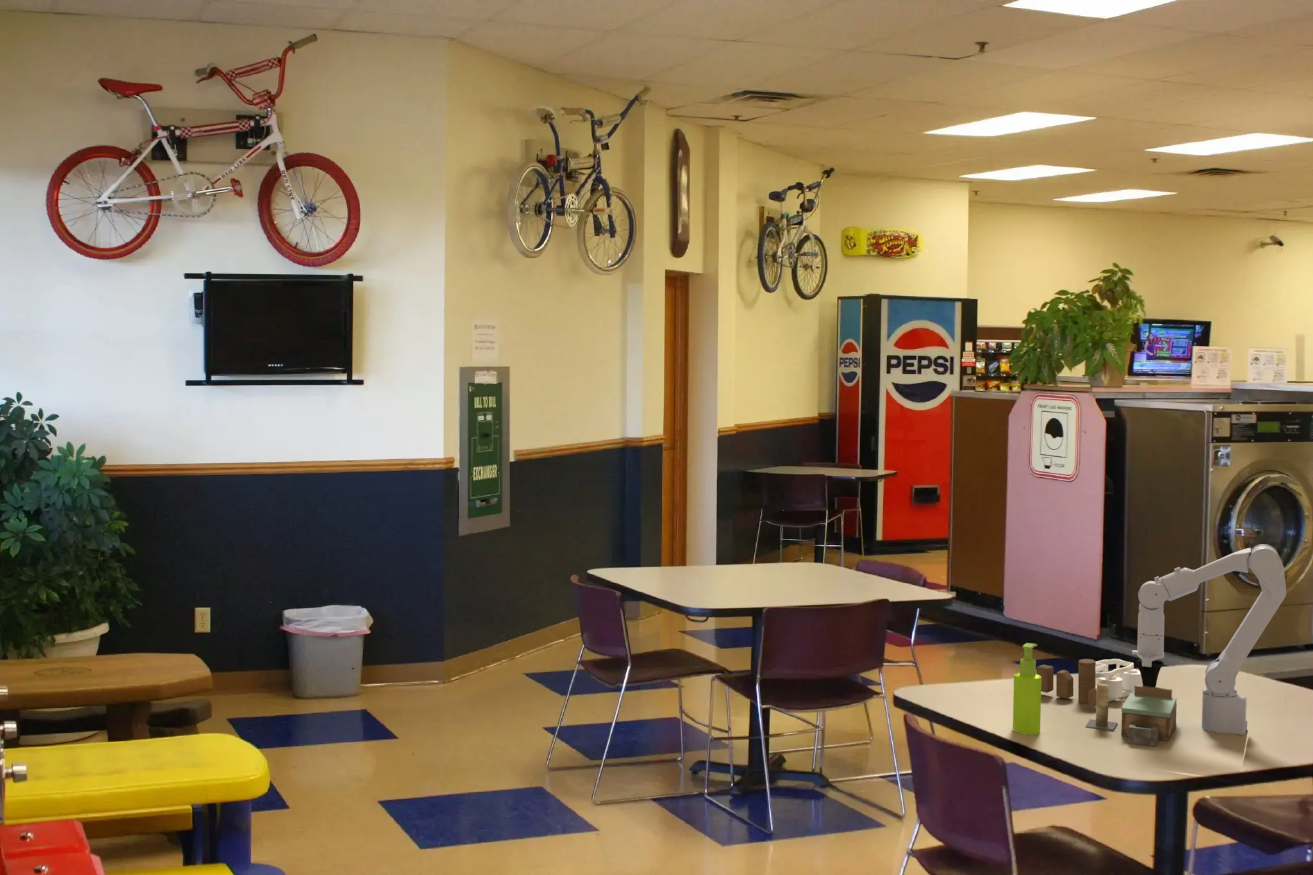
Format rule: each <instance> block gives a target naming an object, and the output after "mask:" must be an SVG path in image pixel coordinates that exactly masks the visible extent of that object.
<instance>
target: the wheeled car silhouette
mask: <svg viewBox="0 0 1313 875" xmlns="http://www.w3.org/2000/svg"><path fill="white" fill-rule="evenodd" d="M1095 662H1096V679H1098V680H1097V681H1096V682H1095V689H1096V690H1097V684H1106V685H1109V698H1108V702H1111V701H1114V700H1115V699H1118V698H1119V699H1121V698H1125V697H1128V696H1129V695H1130V693H1134V689H1135V685H1140V686H1143V683H1142V677H1141V674H1140V671H1139V669H1135V666H1134V665H1135V664H1134V662H1131V661H1126V660H1122V659H1120V658H1111V659H1102V660H1098V661H1095ZM1109 665H1116V668H1114V669H1113V670H1111V671H1109ZM1120 666H1123V667H1120ZM1097 682H1098V683H1097Z"/></svg>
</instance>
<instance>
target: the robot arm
mask: <svg viewBox="0 0 1313 875" xmlns="http://www.w3.org/2000/svg"><path fill="white" fill-rule="evenodd" d="M1283 563H1284V562H1283V561H1282V559H1281V557H1280V555H1279V553H1278V550H1277V549H1275V547H1273V546H1271V545H1270V544H1266V543H1265V544H1261V543H1260V544H1256V545H1255V546H1253V547H1252V548H1251V547H1247V548H1243V549H1241V550H1237V551H1235V552H1232V553H1230V554H1228V555H1226V556H1223V557H1221V558H1219V559H1216V560H1214V561H1211V562H1210V563H1207V564H1205V565H1202V566H1200V567H1199V568H1196V569H1191V568H1188V567H1182V568H1181V567H1180V566H1178V567H1176V568H1173V569H1174V570H1173V572H1171V573H1168V574H1166V575H1163V576H1161V577H1159V575H1158V576H1156V577H1154V578H1153V579H1154V581H1153V580H1148V581H1146V582H1144V583H1142V585H1141V586H1140V589H1139V591H1138V592H1137V596H1138V601H1139V605H1138V611H1139V612H1138V614H1137V647H1136V648H1137V649H1136V650H1135V649H1134V650H1131V655H1134V656H1137V657H1138V658H1139V659H1138V660H1136V663H1135V664H1136V666H1137V668H1138V671H1140V674H1141V677H1142V683H1143V686H1149V687H1157V682H1158V678H1159V675H1160V671H1161V669H1162V667H1163V665H1164V664H1165V662H1164V660H1161V659H1163V658H1165V652H1164V651H1165V642H1164V641H1165V614H1164V604H1165V601H1168V602H1172V601H1174V600H1176V599H1179V598H1181V597H1184V596H1187V595H1189V594H1191V593H1194V592H1196V591H1198V589H1199V586H1200V584H1201V583H1204V582H1207V581H1209V580H1213V579H1215V578H1218V577H1220V576H1224V575H1226V574H1228V573H1232V572H1241V573H1246V574H1247V573H1249V569H1250V570H1251V572H1253V574H1254V575H1255V577H1256V578H1257V579H1258V582H1259V585H1260V588H1261V591H1260V594H1259V595H1258V596H1257V598H1256V600H1255V601H1254V603H1253V604H1252V606H1251V607H1250V609H1249V611H1248V612H1247V614H1246V616H1245V617H1244V618H1243V620H1242V621H1241V623H1240V625H1239V626H1238V628H1237V629H1236V631H1235V633H1234V634H1233V636H1232V637H1231V639H1230V640H1229V642H1228V644H1227V645H1226V646H1225V648H1224V649H1223V650H1222V652H1221V653H1220V654H1219V655H1218V657H1217V658H1216V659H1215V660H1212V661H1211V662H1210V663H1208V665H1207V666H1206V669H1205V677H1204V684H1205V687H1204V688H1202V699H1201V700H1202V701H1201V702H1202V704H1201V705H1202V706H1201V707H1202V708H1201V728H1202V729H1203V730H1205V731H1207V732H1214V733H1219V734H1220V733H1222V734H1232V735H1242V736H1243V735H1245V734H1246V730H1248V721H1247V704H1248V703H1247V696H1246V695H1241V694H1238V690H1236V689H1235V687H1236V679H1237V676H1238V674H1239V672H1240V670H1241V668H1242V666H1243V664H1244V662H1245V661H1246V659H1247V657H1248V655H1249V654H1250V653H1251V651H1252V650H1253V648H1254V646H1255V645H1256V643H1257V642H1258V641H1259V639H1260V637H1261V636H1262V634H1263V633H1264V630H1266V628H1267V626H1268V624H1269V623H1270V622H1271V621H1272V618H1273V617H1274V616H1275V614H1276V612H1277V611H1278V609H1279V608H1280V606H1281V604H1282V603H1283V601H1284V600H1285V598H1286V596H1287V584H1286V579H1285V578H1286V577H1285V576H1286V574H1285V566H1284V564H1283Z"/></svg>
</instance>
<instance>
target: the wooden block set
mask: <svg viewBox="0 0 1313 875" xmlns="http://www.w3.org/2000/svg"><path fill="white" fill-rule="evenodd" d="M1096 662H1097V661H1096V660H1094V659H1092V658H1091V659H1090V658H1083V659H1079V660H1078V666H1077V667H1078V672H1077V674H1078V675H1077V676H1078V694H1077V696H1078V699H1077V700H1078V702H1079V703H1082V704H1086V705H1088V706H1089V705H1090V706H1094V707H1096V696H1097V690H1096V689H1095V682H1096V683H1097V678H1096V673H1097V672H1096ZM1036 674H1038V675H1040V676H1041V693H1046V694H1047V693H1050V692H1052V691H1054V666H1052V665H1047V664H1041V665H1039V666H1036ZM1055 675H1056V677H1055V678H1056V680H1055V681H1056V683H1055V684H1056V687H1055V688H1056V692H1055V693H1056V694H1055V695H1056V697H1057V698H1062V699H1069V698H1071V697H1074V677H1073V676H1072V674H1071V673H1070V672H1069V671H1068V670H1066V669H1062V670H1059V671H1057V672H1056V674H1055Z"/></svg>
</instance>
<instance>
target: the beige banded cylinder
mask: <svg viewBox="0 0 1313 875" xmlns="http://www.w3.org/2000/svg"><path fill="white" fill-rule="evenodd" d="M1096 686H1097V696H1096V706H1095V707H1096V708H1095V720H1096V725H1101V726H1107V725H1108V722H1109V701H1108V698H1109V685H1106V684H1098V683H1096Z"/></svg>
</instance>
